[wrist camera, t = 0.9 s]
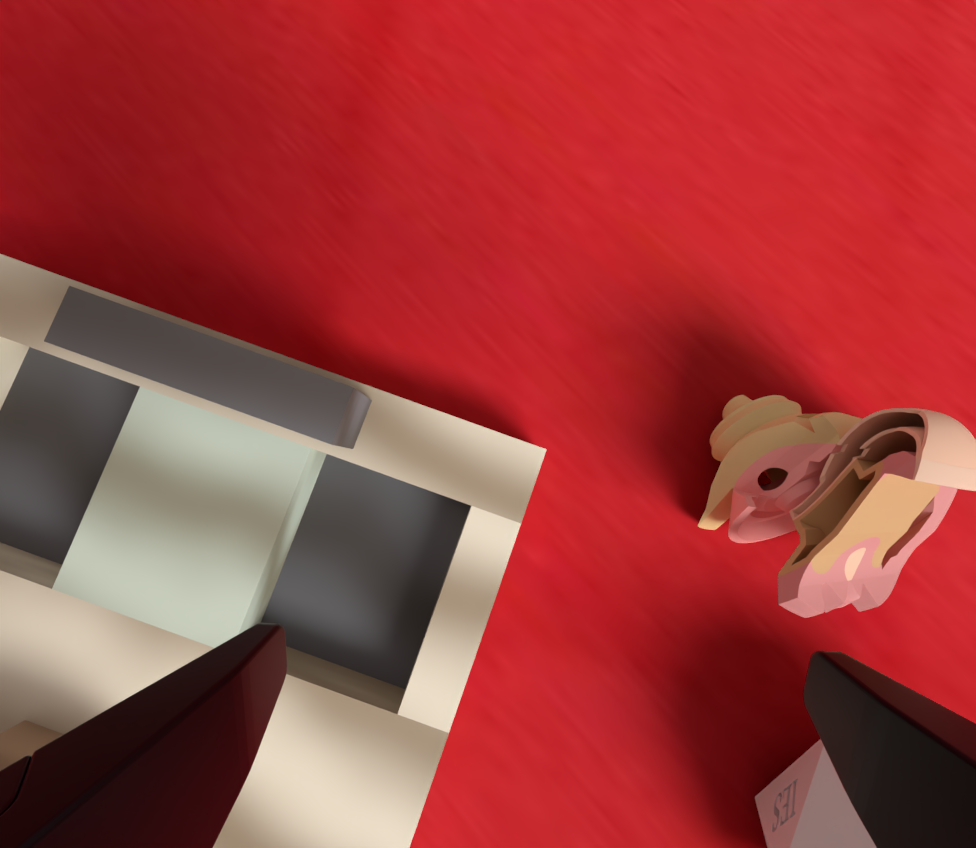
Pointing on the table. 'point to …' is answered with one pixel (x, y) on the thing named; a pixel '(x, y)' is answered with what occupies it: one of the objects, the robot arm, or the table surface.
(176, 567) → the board
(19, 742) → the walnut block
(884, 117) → the table surface
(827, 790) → the die
